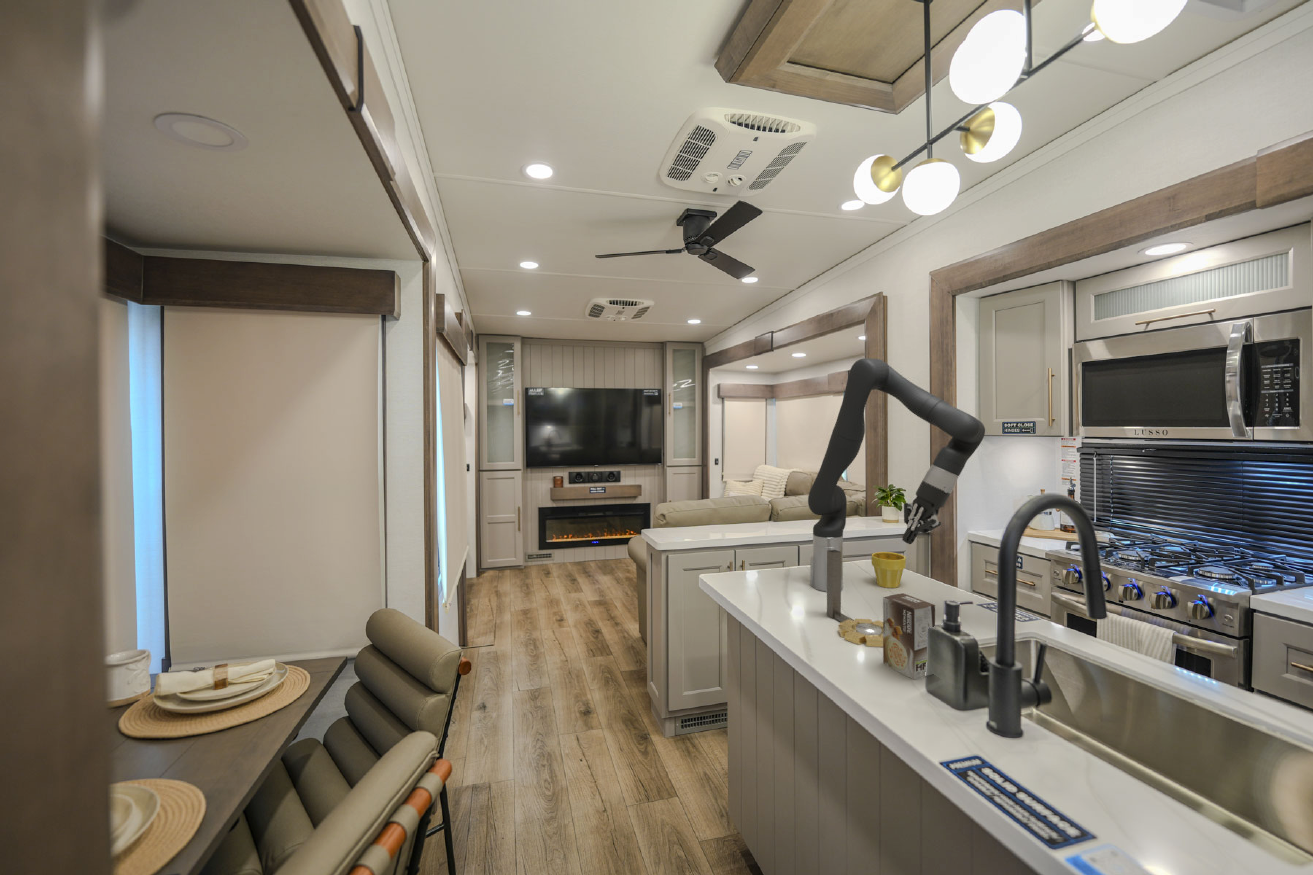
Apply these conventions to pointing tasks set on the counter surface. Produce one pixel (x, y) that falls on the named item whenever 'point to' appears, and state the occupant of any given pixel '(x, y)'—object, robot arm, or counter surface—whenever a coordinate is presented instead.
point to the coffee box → (906, 633)
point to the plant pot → (888, 568)
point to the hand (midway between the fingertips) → (906, 542)
